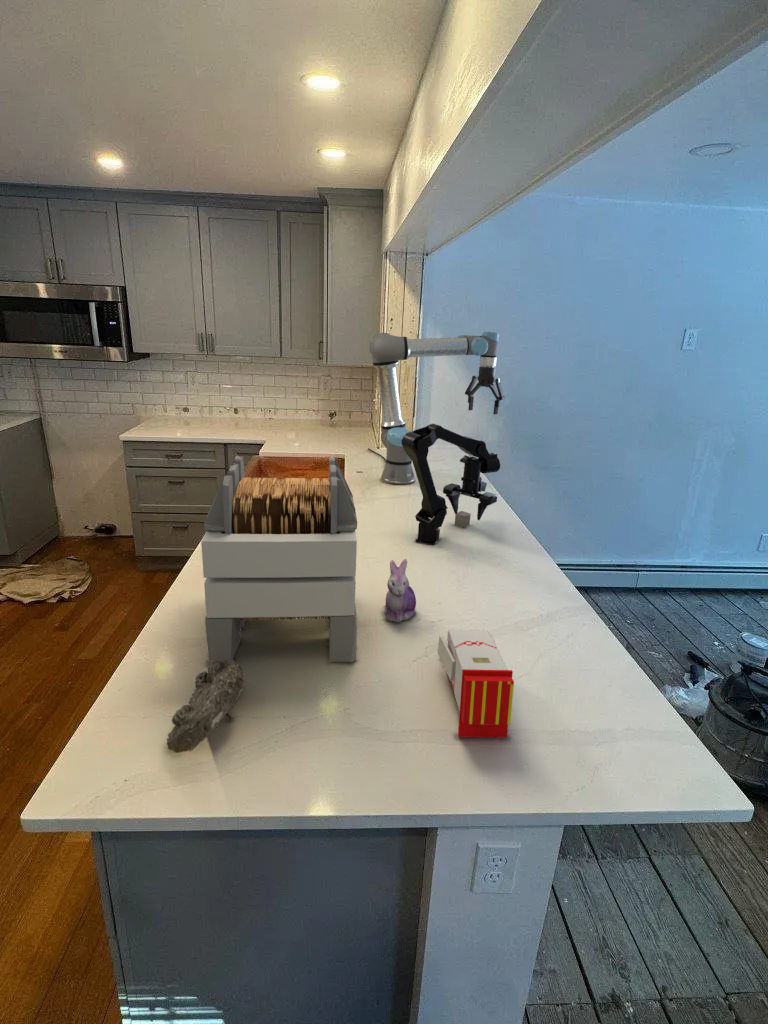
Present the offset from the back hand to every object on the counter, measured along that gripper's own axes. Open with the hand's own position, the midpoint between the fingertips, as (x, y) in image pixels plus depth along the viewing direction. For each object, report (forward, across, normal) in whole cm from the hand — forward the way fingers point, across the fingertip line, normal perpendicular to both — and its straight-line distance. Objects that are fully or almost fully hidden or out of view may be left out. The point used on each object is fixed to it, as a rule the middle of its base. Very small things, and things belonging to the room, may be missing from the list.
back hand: (482, 412), depth 271 cm
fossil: (+30, -54, +191) cm, 201 cm away
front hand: (+24, -39, +74) cm, 87 cm away
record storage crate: (+30, -39, +160) cm, 167 cm away
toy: (+30, -87, +151) cm, 177 cm away
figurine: (+30, -56, +136) cm, 150 cm away
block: (+30, -34, +68) cm, 82 cm away
